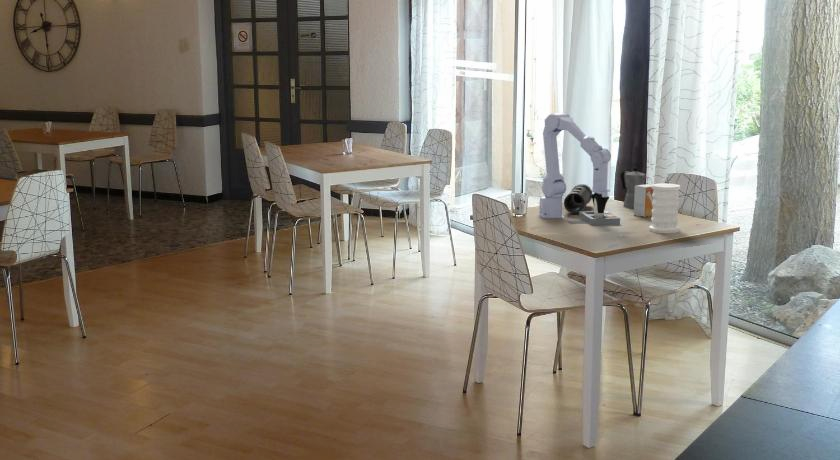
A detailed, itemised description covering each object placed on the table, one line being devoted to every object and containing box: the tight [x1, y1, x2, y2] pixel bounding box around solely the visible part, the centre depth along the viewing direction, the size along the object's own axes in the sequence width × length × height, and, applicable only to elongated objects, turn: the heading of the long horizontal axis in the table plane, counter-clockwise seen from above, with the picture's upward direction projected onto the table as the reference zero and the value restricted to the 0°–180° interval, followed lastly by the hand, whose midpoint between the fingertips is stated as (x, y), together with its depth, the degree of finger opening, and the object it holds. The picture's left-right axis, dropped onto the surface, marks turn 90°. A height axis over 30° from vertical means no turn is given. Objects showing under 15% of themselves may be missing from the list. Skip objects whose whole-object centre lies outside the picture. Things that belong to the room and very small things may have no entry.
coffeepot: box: [619, 166, 648, 209], centre depth 423 cm, size 15×9×18 cm, turn 33°
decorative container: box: [648, 182, 681, 234], centre depth 368 cm, size 12×12×18 cm
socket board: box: [578, 210, 621, 226], centre depth 388 cm, size 12×18×3 cm, turn 6°
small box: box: [633, 183, 653, 218], centre depth 401 cm, size 8×6×13 cm
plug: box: [593, 199, 604, 218], centre depth 382 cm, size 4×4×8 cm
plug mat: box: [566, 219, 588, 225], centre depth 385 cm, size 7×7×1 cm
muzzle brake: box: [563, 183, 593, 215], centre depth 414 cm, size 10×28×10 cm, turn 163°
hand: (599, 212), depth 382 cm, fingers closed on plug, 4 cm apart
